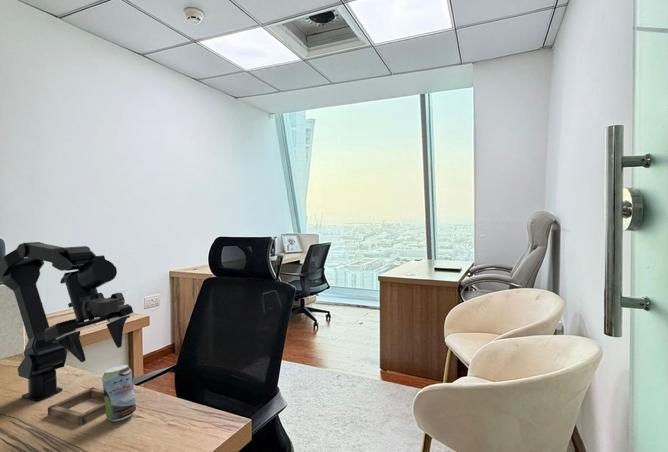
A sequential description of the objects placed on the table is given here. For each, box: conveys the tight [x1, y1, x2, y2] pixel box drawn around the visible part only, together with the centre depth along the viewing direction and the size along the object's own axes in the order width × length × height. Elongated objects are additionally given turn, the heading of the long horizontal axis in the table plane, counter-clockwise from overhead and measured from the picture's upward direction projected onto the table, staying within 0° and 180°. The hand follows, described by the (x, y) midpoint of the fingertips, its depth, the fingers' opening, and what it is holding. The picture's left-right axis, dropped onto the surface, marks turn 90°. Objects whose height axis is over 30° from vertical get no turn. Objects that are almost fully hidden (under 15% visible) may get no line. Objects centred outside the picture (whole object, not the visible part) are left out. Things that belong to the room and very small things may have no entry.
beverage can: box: [101, 364, 137, 422], centre depth 84 cm, size 6×7×12 cm
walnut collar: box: [47, 386, 106, 426], centre depth 87 cm, size 12×11×2 cm
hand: (102, 354), depth 86 cm, fingers open, 9 cm apart
